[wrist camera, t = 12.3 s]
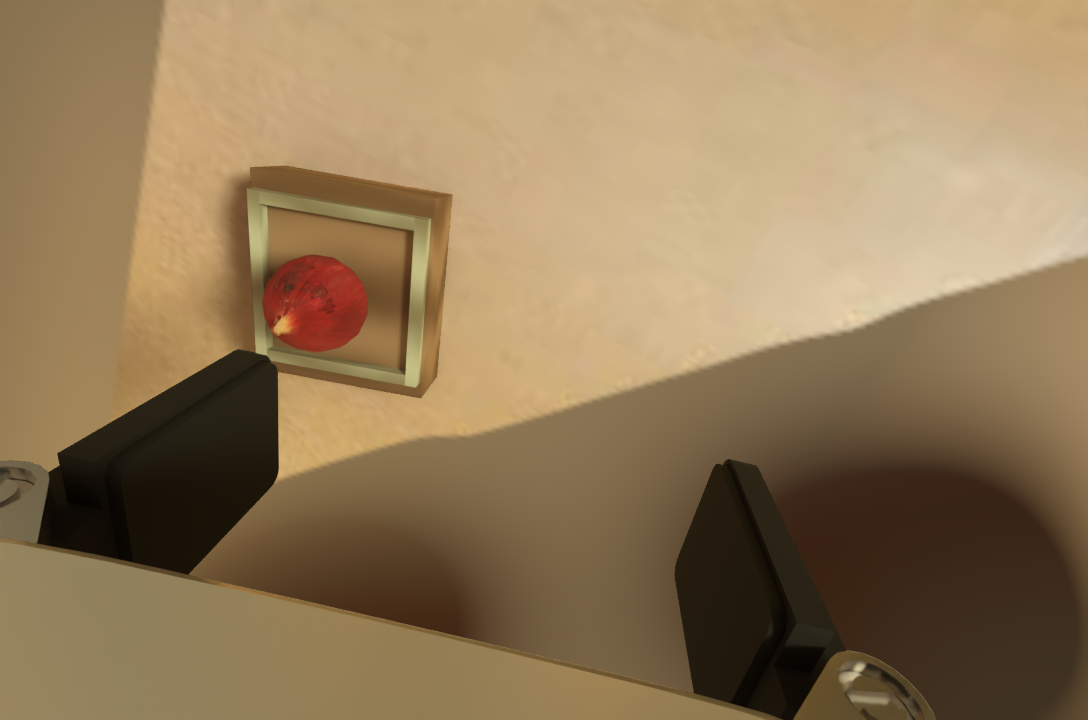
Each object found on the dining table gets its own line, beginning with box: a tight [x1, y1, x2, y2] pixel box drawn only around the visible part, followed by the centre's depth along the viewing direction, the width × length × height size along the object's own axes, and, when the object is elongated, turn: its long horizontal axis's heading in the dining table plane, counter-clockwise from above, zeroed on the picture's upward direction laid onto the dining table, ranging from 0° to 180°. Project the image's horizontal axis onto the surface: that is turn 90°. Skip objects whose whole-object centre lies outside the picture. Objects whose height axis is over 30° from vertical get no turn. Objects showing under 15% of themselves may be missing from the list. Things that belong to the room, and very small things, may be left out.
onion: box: [262, 255, 368, 352], centre depth 32 cm, size 6×6×8 cm
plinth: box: [246, 166, 452, 398], centre depth 37 cm, size 14×12×5 cm
